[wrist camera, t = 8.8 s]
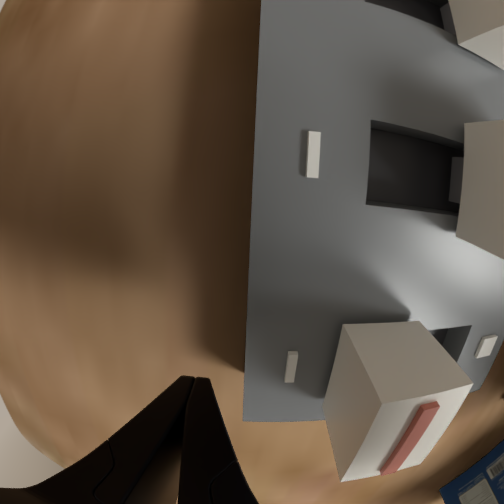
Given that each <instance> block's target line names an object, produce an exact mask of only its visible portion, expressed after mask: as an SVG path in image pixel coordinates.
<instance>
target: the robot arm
mask: <svg viewBox="0 0 504 504" xmlns="http://www.w3.org/2000/svg"><path fill="white" fill-rule="evenodd" d="M177 497H178V504H259V503H258V501H257V500H256V498H255V496H254V495H253V493H252V491H251V489H250V488H249V485H248V483H247V481H246V479H245V477H244V474H243V472H242V470H241V467H240V464H239V462H238V460H237V457H236V454H235V452H234V449H233V446H232V444H231V441H230V438H229V435H228V432H227V430H226V427H225V424H224V421H223V418H222V415H221V412H220V409H219V406H218V403H217V400H216V397H215V394H214V391H213V388H212V384H211V381H210V379H209V378H204V377H196V378H195V377H193V376H184V375H183V376H180V377H179V378H178V379H177V380H176V381H175V382H173V383H172V384H171V385H170V386H169V387H168V388H167V389H166V390H165V391H163V392H162V393H161V394H160V395H159V396H158V397H157V398H155V399H154V400H153V401H152V402H151V403H150V404H149V405H147V406H146V407H145V408H144V409H143V410H142V411H140V412H139V413H138V414H137V415H136V416H135V417H133V418H132V419H131V420H130V421H129V422H128V423H126V424H125V425H124V426H123V427H122V428H120V429H119V430H118V431H117V432H116V433H114V434H113V435H112V436H111V437H110V438H108V440H106V441H105V442H103V443H102V444H101V445H100V446H99V447H97V448H96V449H95V450H93V451H92V452H91V453H89V454H88V455H87V456H85V457H84V458H82V459H81V460H79V461H77V462H76V463H74V464H73V465H71V466H69V467H68V468H66V469H64V470H63V471H61V472H59V473H57V474H56V475H54V476H52V477H50V478H48V479H46V480H45V481H43V482H41V483H39V484H37V485H34V486H31V487H27V488H0V504H176V500H177Z"/></svg>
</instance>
